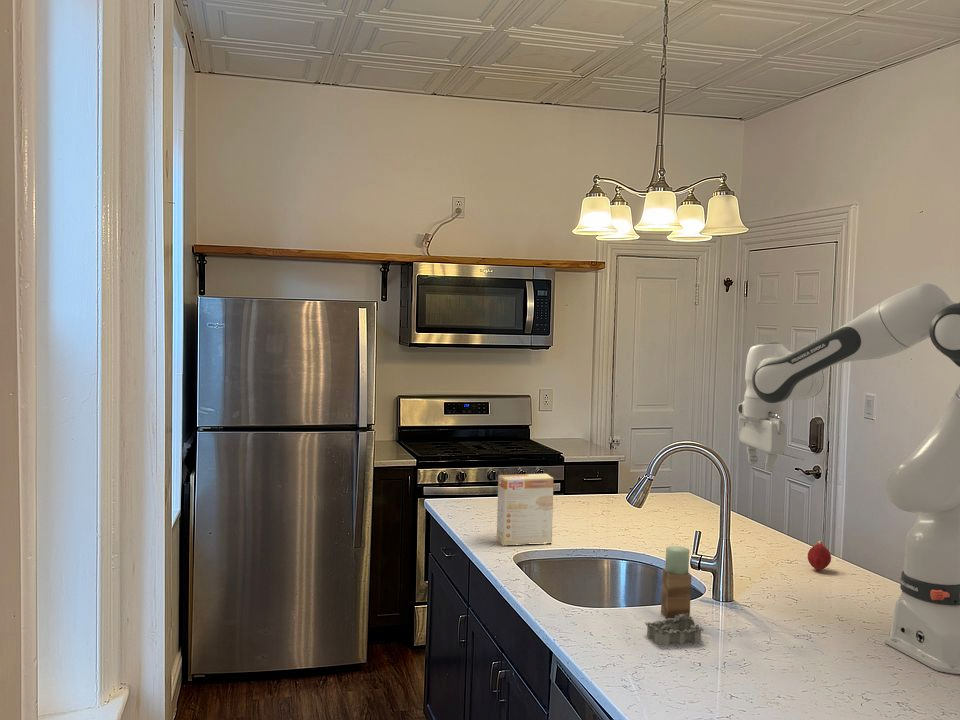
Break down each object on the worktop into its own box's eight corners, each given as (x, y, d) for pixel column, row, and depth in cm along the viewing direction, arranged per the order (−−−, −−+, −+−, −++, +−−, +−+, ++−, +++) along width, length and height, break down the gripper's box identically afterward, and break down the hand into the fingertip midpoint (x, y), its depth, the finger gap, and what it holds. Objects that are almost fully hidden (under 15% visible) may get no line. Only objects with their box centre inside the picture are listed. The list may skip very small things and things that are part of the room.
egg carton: (689, 631, 181) (690, 612, 181) (706, 644, 174) (706, 625, 173) (642, 633, 179) (643, 614, 178) (657, 647, 171) (658, 627, 171)
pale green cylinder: (691, 575, 186) (692, 552, 186) (668, 574, 186) (669, 552, 186) (684, 568, 191) (685, 546, 191) (662, 567, 191) (663, 546, 191)
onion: (832, 575, 223) (833, 545, 222) (809, 573, 224) (810, 543, 223) (827, 568, 228) (829, 539, 228) (805, 566, 230) (806, 537, 229)
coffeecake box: (544, 538, 252) (546, 473, 250) (552, 544, 245) (554, 477, 244) (495, 540, 248) (497, 474, 247) (502, 547, 241) (504, 478, 240)
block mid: (690, 597, 186) (691, 575, 186) (668, 597, 186) (669, 574, 186) (683, 590, 191) (684, 568, 191) (661, 589, 191) (662, 568, 191)
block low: (689, 619, 187) (690, 597, 186) (667, 619, 186) (668, 597, 186) (682, 611, 192) (683, 590, 191) (661, 611, 191) (661, 589, 191)
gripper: (794, 415, 194) (792, 475, 194) (759, 405, 214) (756, 460, 215) (767, 414, 193) (765, 475, 194) (734, 405, 214) (732, 459, 214)
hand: (760, 467), depth 204 cm, fingers open, 8 cm apart
